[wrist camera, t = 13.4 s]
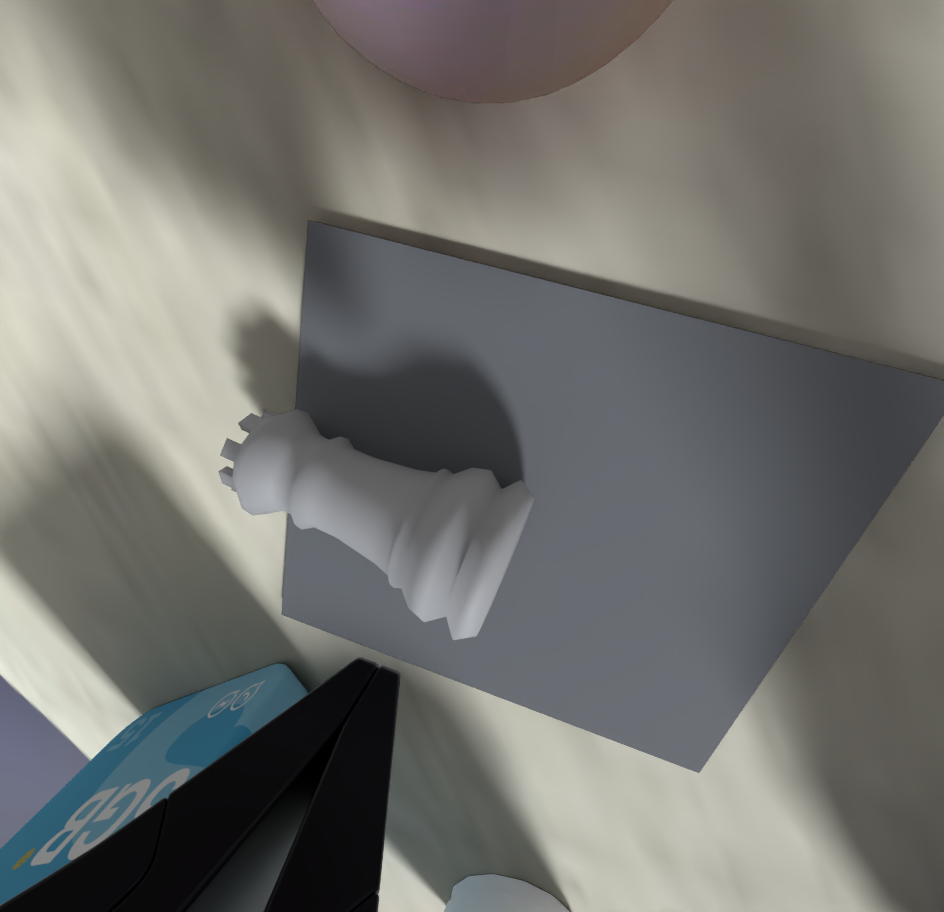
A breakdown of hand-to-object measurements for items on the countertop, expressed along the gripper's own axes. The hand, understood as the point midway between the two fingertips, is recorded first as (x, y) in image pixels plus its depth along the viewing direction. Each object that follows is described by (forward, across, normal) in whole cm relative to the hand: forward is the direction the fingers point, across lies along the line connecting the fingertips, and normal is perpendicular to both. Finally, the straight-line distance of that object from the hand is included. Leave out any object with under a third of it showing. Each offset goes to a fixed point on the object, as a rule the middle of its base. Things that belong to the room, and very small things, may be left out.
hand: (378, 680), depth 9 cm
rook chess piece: (+4, -2, 0) cm, 5 cm away
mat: (+7, -2, 0) cm, 7 cm away
